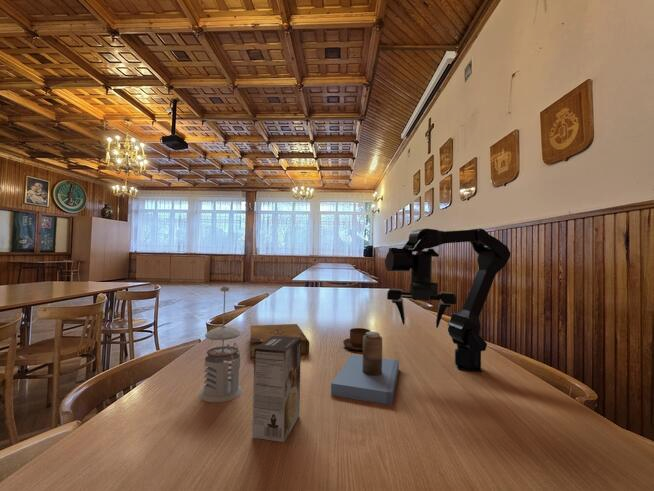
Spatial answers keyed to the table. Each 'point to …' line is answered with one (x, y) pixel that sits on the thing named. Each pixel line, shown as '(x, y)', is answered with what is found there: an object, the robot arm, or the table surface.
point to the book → (366, 381)
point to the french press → (222, 365)
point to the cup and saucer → (356, 338)
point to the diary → (266, 331)
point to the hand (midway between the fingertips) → (420, 325)
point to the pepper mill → (372, 354)
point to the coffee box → (276, 387)
